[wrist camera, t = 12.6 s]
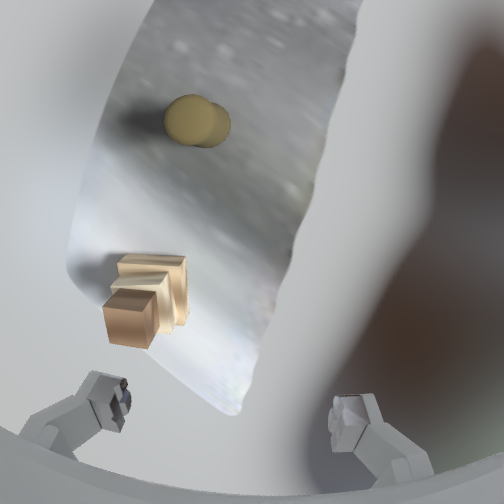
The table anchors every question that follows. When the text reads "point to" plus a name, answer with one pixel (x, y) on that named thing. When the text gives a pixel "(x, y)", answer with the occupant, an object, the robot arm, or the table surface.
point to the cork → (196, 122)
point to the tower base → (162, 264)
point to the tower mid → (163, 290)
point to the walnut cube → (132, 317)
